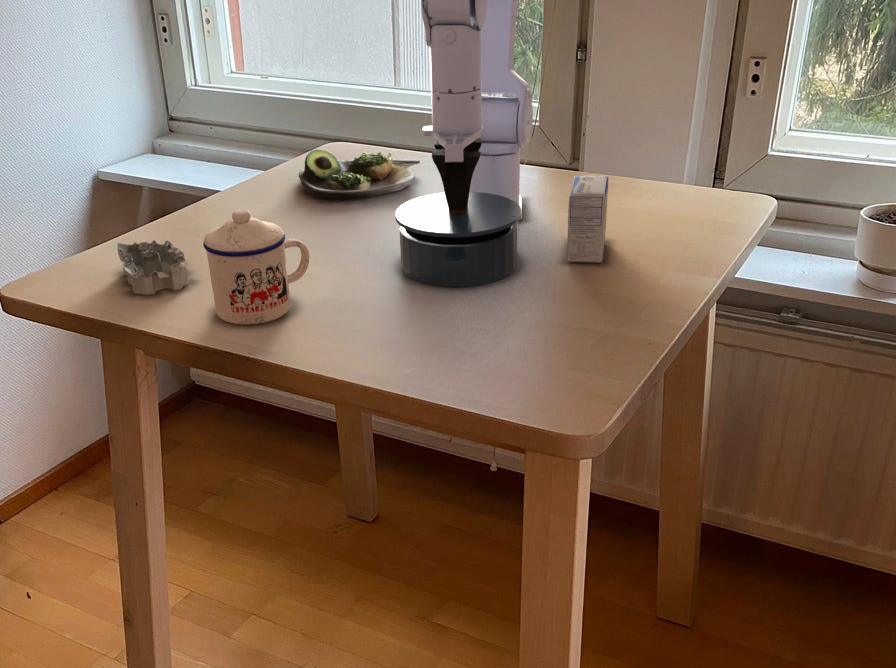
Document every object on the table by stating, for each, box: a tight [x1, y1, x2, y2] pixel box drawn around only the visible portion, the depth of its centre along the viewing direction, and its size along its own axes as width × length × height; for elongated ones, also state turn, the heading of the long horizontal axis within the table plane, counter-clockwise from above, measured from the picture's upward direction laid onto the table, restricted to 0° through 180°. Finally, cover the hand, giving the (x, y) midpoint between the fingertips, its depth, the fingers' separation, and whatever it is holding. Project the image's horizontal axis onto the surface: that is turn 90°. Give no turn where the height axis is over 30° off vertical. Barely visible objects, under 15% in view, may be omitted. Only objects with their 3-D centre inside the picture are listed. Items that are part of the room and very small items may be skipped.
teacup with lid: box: [202, 209, 310, 326], centre depth 114 cm, size 12×9×12 cm
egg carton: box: [116, 239, 189, 296], centre depth 125 cm, size 11×8×4 cm
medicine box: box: [566, 174, 609, 264], centre depth 126 cm, size 8×4×9 cm, turn 168°
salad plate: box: [298, 149, 421, 202], centre depth 155 cm, size 19×18×5 cm
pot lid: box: [394, 192, 523, 237], centre depth 122 cm, size 15×15×4 cm
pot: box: [399, 222, 518, 288], centre depth 125 cm, size 14×20×5 cm
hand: (458, 205), depth 122 cm, fingers closed on pot lid, 2 cm apart
